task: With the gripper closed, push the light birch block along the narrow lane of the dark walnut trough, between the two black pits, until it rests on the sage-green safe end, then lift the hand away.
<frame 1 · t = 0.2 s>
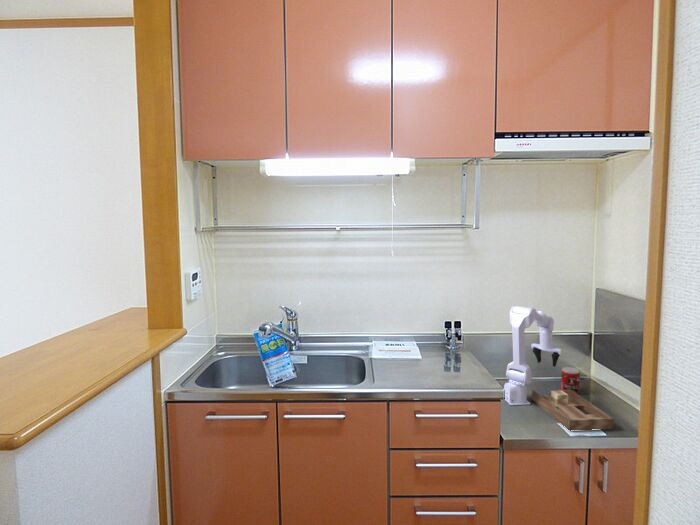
hand: (546, 363, 204), 10 cm above the counter, tool pointing down, fingers open, 7 cm apart
canned food: (570, 391, 195), on the counter
block: (559, 401, 180), point 2 cm above the counter, touching trough
trough: (568, 412, 173), on the counter
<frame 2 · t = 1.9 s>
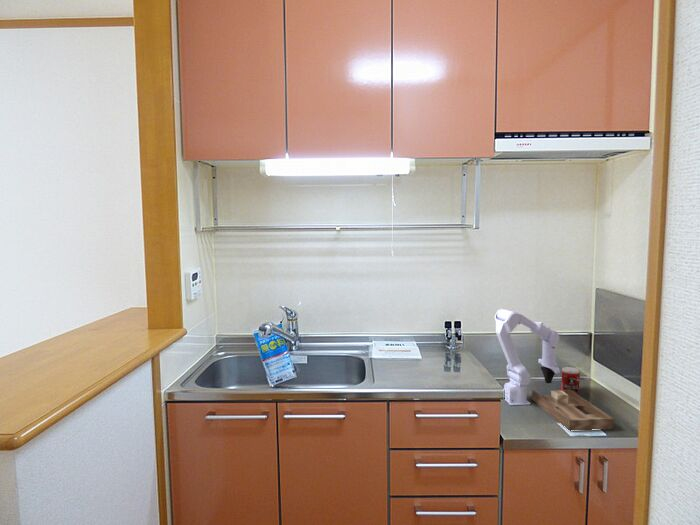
hand: (548, 382, 189), 7 cm above the counter, tool pointing down, fingers closed
nothing on the counter moved.
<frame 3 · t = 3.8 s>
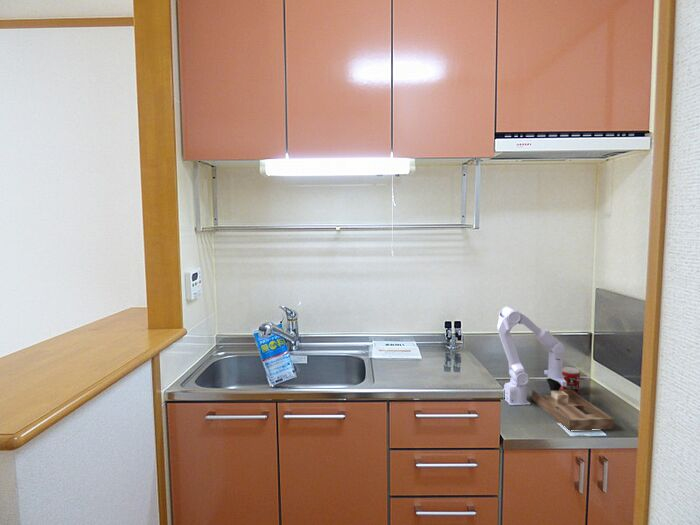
hand: (554, 395, 184), 3 cm above the counter, tool pointing down, fingers closed
block: (559, 401, 180), point 2 cm above the counter, touching gripper, trough
everything else where it was.
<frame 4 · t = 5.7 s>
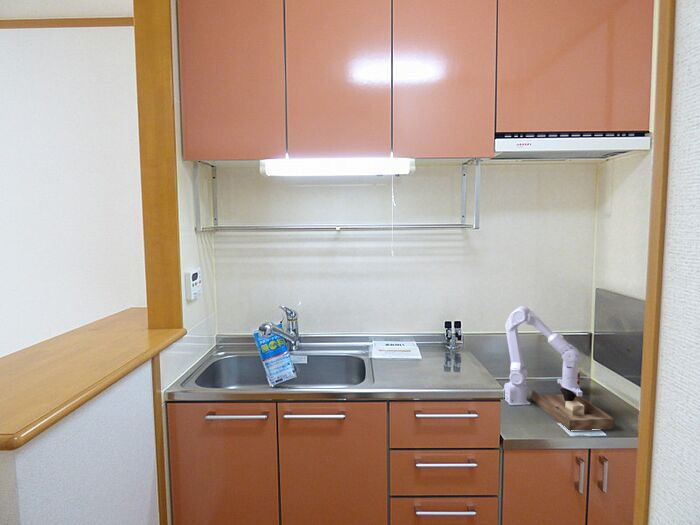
hand: (568, 405, 173), 3 cm above the counter, tool pointing down, fingers closed
block: (574, 412, 169), point 2 cm above the counter, touching gripper
everything else where it was.
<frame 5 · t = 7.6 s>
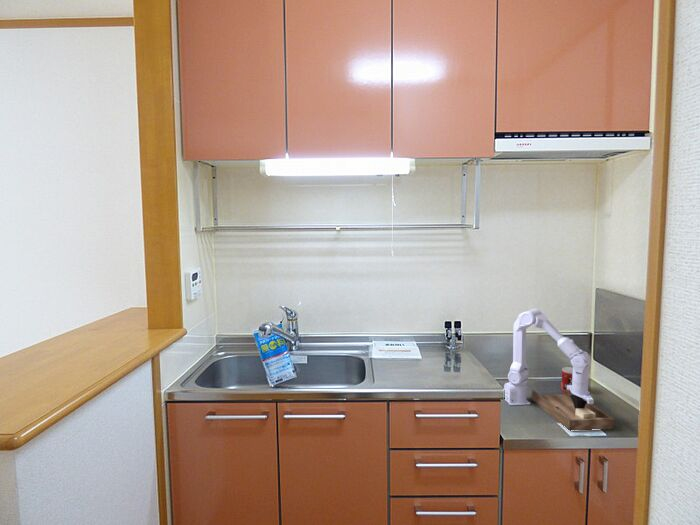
hand: (578, 413, 166), 3 cm above the counter, tool pointing down, fingers closed
block: (585, 420, 162), point 2 cm above the counter, touching gripper, trough
everything else where it was.
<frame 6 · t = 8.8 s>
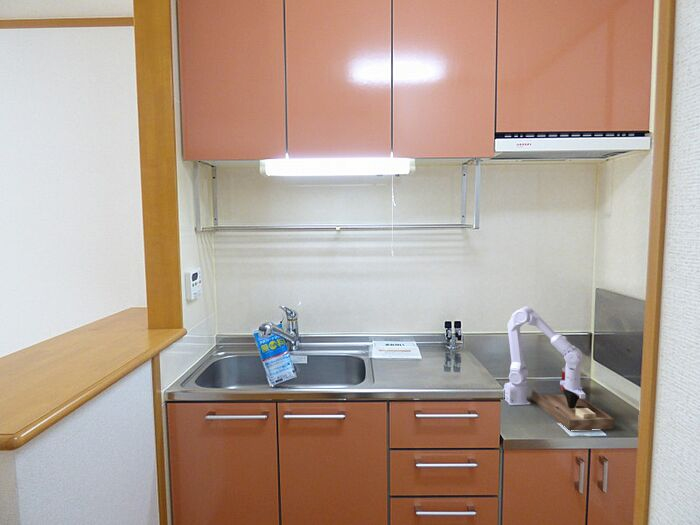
hand: (571, 407, 171), 3 cm above the counter, tool pointing down, fingers closed
block: (585, 420, 162), point 2 cm above the counter, touching trough
everything else where it was.
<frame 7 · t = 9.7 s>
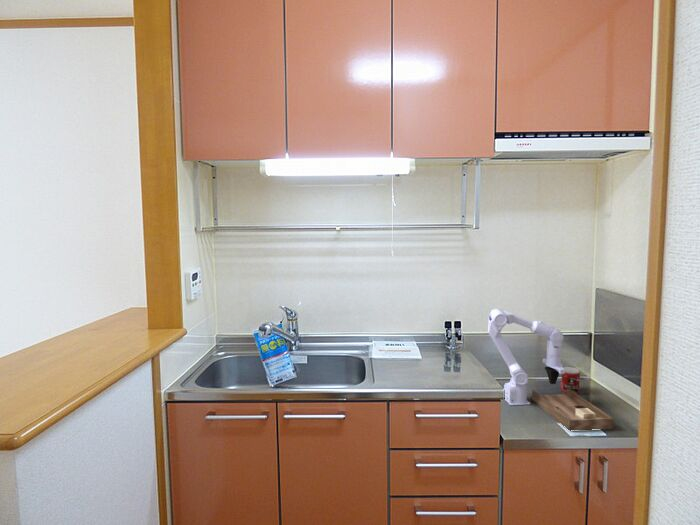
hand: (552, 383, 182), 9 cm above the counter, tool pointing down, fingers closed
nothing on the counter moved.
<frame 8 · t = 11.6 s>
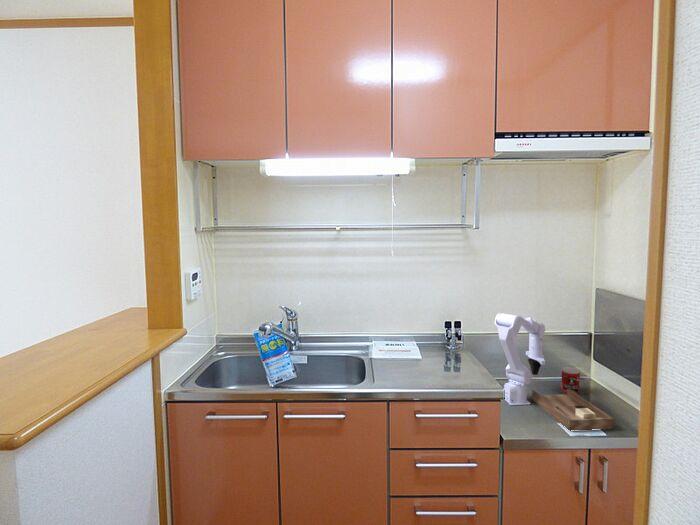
hand: (534, 374, 193), 9 cm above the counter, tool pointing down, fingers closed
nothing on the counter moved.
at the end: block inside the target area on the trough (0.4 cm from its centre), point 2.0 cm above the trough's base; block tilted 0° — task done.
